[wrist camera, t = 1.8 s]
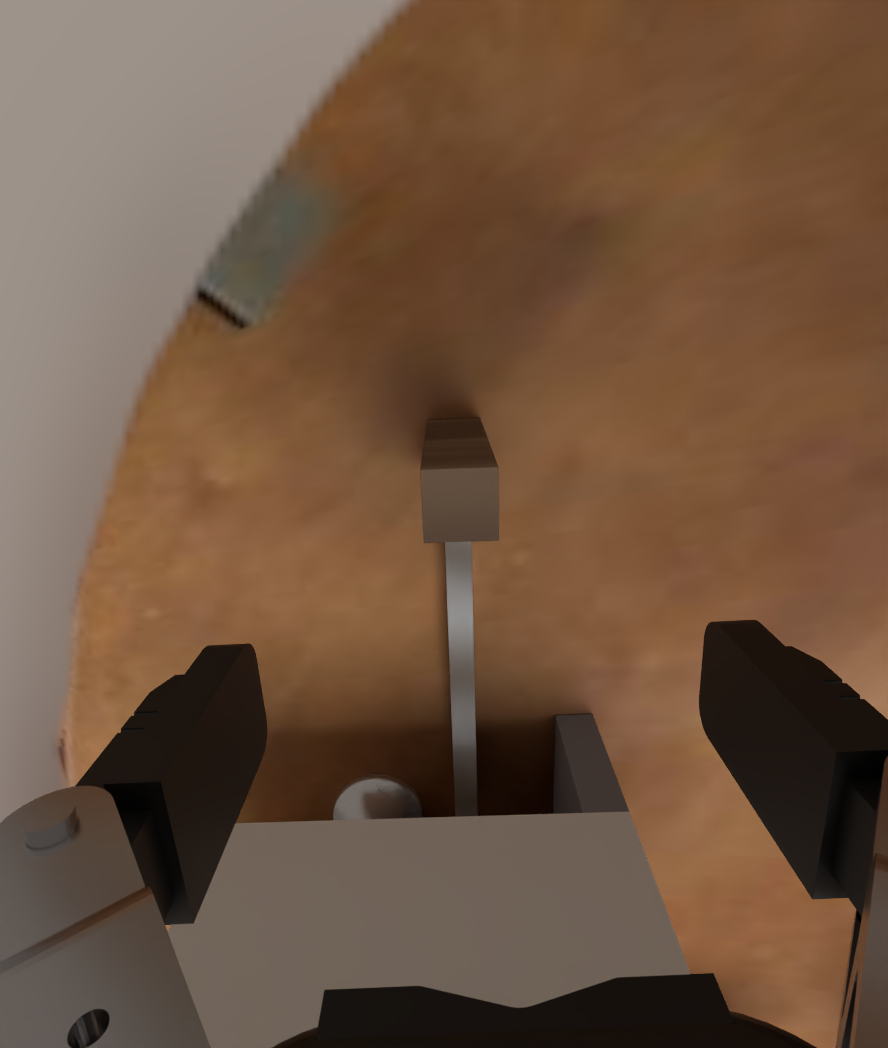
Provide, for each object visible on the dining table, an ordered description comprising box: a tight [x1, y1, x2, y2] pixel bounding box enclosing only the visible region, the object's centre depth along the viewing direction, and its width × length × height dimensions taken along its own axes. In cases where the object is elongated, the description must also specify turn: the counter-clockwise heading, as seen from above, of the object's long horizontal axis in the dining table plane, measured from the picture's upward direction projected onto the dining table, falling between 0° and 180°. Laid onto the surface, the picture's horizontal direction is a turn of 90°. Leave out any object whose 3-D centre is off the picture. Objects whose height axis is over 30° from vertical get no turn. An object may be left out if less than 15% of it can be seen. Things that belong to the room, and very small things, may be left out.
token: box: [333, 773, 422, 820], centre depth 36 cm, size 5×5×1 cm
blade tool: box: [420, 418, 499, 817], centre depth 27 cm, size 21×2×10 cm, turn 2°
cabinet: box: [168, 714, 690, 1048], centre depth 28 cm, size 20×19×19 cm
